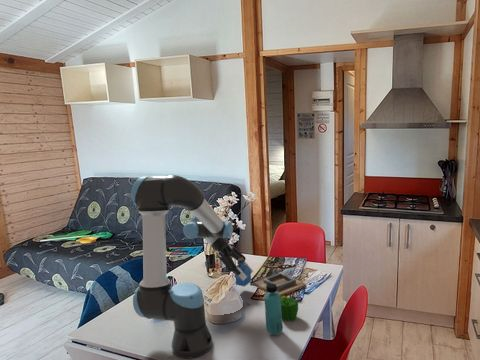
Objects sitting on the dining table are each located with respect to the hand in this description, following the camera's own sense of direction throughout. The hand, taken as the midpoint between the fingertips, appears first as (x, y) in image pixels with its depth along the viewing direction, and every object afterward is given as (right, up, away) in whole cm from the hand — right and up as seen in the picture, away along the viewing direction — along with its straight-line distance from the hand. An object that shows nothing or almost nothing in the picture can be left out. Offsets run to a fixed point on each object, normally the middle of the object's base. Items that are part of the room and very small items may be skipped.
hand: (248, 275), depth 175 cm
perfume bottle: (-3, -4, +2) cm, 6 cm away
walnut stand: (+16, -6, +6) cm, 18 cm away
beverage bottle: (+9, -14, -33) cm, 37 cm away
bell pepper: (+16, -12, -23) cm, 30 cm away
